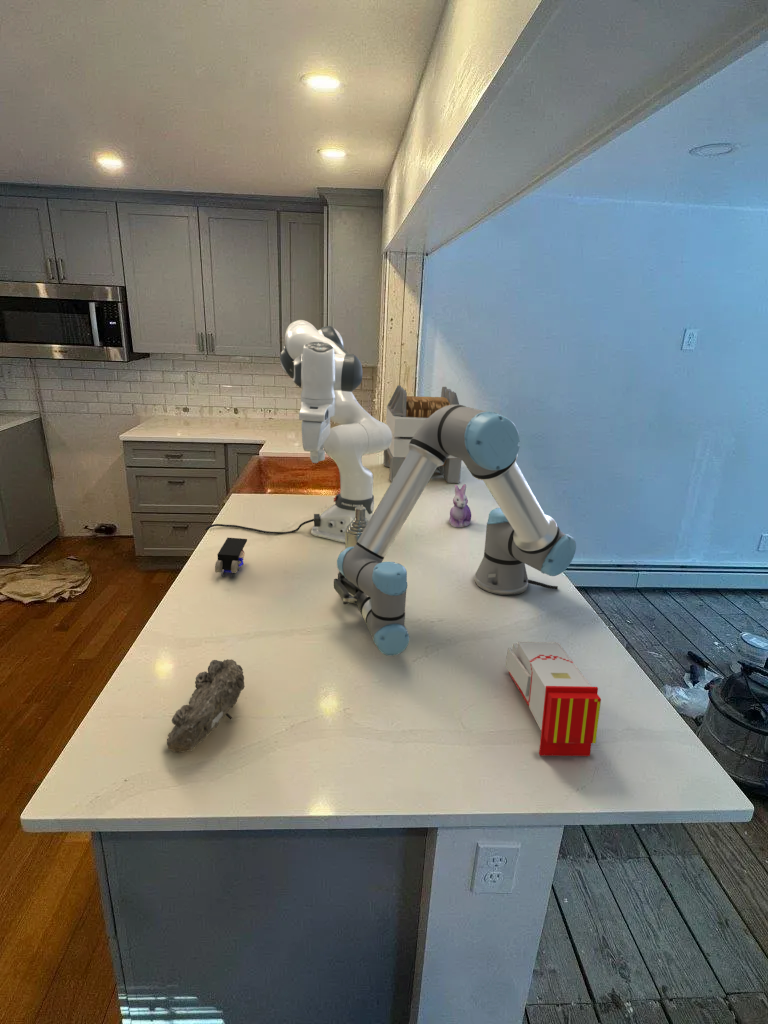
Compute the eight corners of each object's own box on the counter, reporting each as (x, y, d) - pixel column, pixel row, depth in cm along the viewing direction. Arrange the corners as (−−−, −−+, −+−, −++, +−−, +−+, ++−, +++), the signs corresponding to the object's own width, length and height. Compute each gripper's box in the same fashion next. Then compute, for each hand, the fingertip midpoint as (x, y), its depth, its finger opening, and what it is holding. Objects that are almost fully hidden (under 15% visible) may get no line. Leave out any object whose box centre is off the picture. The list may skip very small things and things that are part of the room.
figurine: (457, 529, 205) (460, 490, 200) (441, 520, 214) (444, 482, 209) (478, 526, 210) (482, 487, 205) (462, 517, 218) (465, 480, 213)
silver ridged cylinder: (347, 605, 151) (348, 513, 142) (342, 591, 158) (343, 503, 149) (375, 602, 153) (378, 511, 144) (369, 589, 160) (371, 502, 151)
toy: (554, 624, 127) (610, 694, 97) (548, 679, 130) (602, 763, 100) (500, 623, 126) (541, 693, 97) (496, 678, 129) (534, 763, 100)
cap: (321, 461, 149) (322, 452, 148) (308, 460, 150) (308, 451, 149) (326, 458, 153) (326, 449, 152) (313, 456, 154) (313, 447, 153)
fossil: (192, 660, 117) (244, 628, 112) (224, 691, 120) (276, 661, 115) (142, 746, 98) (202, 712, 93) (182, 779, 101) (242, 748, 96)
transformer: (382, 463, 289) (386, 382, 275) (445, 464, 293) (451, 384, 279) (390, 482, 257) (394, 392, 243) (460, 483, 261) (468, 394, 247)
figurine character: (238, 584, 162) (249, 557, 175) (236, 562, 158) (247, 536, 172) (215, 584, 161) (227, 556, 175) (212, 561, 158) (225, 535, 171)
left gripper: (313, 400, 156) (312, 449, 161) (297, 414, 137) (297, 469, 142) (336, 402, 156) (334, 450, 161) (323, 416, 137) (322, 471, 142)
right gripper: (334, 627, 135) (318, 584, 156) (415, 618, 141) (390, 577, 161) (334, 599, 133) (318, 559, 153) (417, 591, 138) (391, 553, 159)
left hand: (317, 459), depth 151 cm, fingers closed on cap, 4 cm apart
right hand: (355, 568), depth 157 cm, fingers closed on silver ridged cylinder, 8 cm apart
